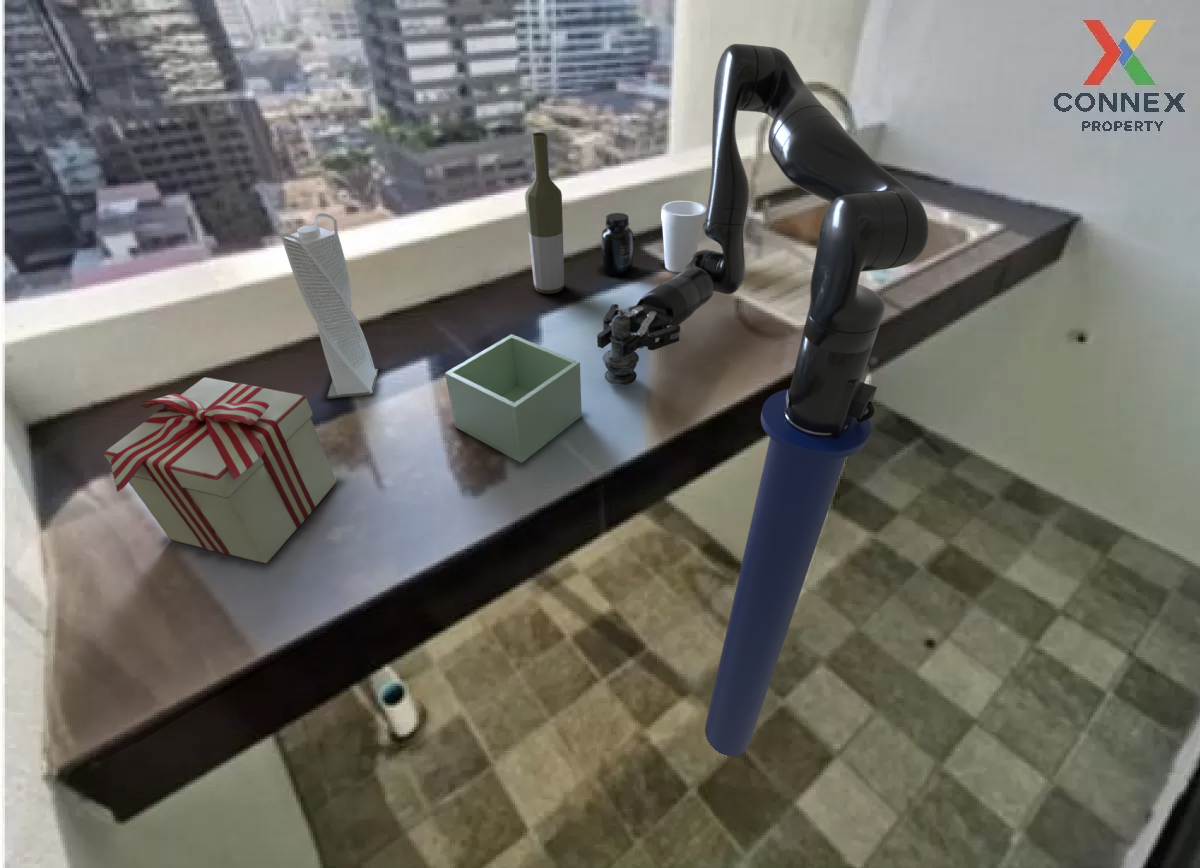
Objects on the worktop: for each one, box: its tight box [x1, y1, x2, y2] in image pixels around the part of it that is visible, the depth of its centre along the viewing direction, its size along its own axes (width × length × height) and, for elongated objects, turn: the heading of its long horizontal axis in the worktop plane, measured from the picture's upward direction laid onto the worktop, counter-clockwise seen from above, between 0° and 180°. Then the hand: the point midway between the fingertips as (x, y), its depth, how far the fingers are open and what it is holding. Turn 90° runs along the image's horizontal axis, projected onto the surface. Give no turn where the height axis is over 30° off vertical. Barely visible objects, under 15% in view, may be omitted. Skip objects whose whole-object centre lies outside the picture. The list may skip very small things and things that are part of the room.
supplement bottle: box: [601, 212, 634, 277], centre depth 130 cm, size 7×7×12 cm
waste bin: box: [444, 333, 583, 464], centre depth 89 cm, size 14×14×10 cm
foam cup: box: [660, 200, 707, 273], centre depth 131 cm, size 10×9×13 cm
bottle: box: [524, 132, 565, 295], centre depth 118 cm, size 7×7×30 cm
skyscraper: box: [281, 212, 379, 399], centre depth 91 cm, size 8×8×28 cm
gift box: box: [103, 377, 337, 564], centre depth 71 cm, size 17×18×17 cm
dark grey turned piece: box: [602, 310, 640, 386], centre depth 96 cm, size 6×6×12 cm
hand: (610, 346), depth 93 cm, fingers closed on dark grey turned piece, 3 cm apart
